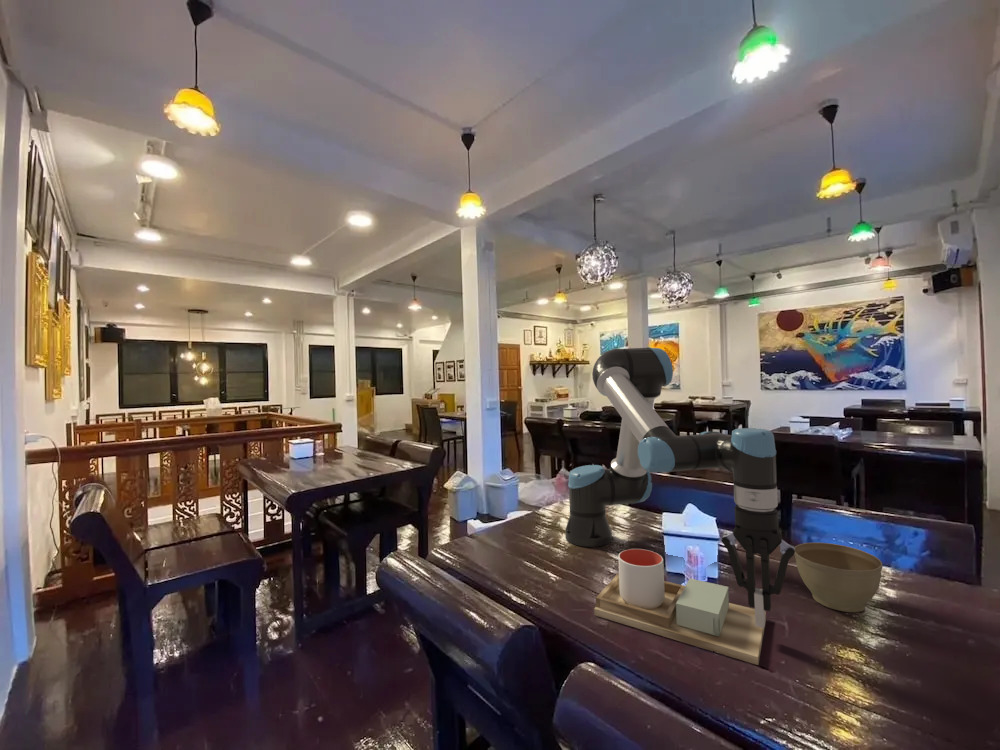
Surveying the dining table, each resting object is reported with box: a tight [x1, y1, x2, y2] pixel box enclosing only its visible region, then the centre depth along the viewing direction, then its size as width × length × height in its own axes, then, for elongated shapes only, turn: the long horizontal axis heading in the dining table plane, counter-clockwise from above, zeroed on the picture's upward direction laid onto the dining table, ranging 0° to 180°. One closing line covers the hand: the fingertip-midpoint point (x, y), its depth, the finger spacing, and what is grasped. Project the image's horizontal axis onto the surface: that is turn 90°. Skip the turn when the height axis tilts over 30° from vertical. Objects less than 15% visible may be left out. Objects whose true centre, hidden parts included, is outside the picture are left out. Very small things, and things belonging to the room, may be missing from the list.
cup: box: [617, 548, 665, 609], centre depth 102 cm, size 10×10×10 cm
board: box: [593, 572, 767, 666], centre depth 97 cm, size 18×32×4 cm, turn 55°
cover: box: [676, 578, 730, 636], centre depth 94 cm, size 13×8×4 cm, turn 145°
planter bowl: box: [794, 542, 883, 613], centre depth 100 cm, size 16×16×11 cm
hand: (760, 624), depth 87 cm, fingers closed
